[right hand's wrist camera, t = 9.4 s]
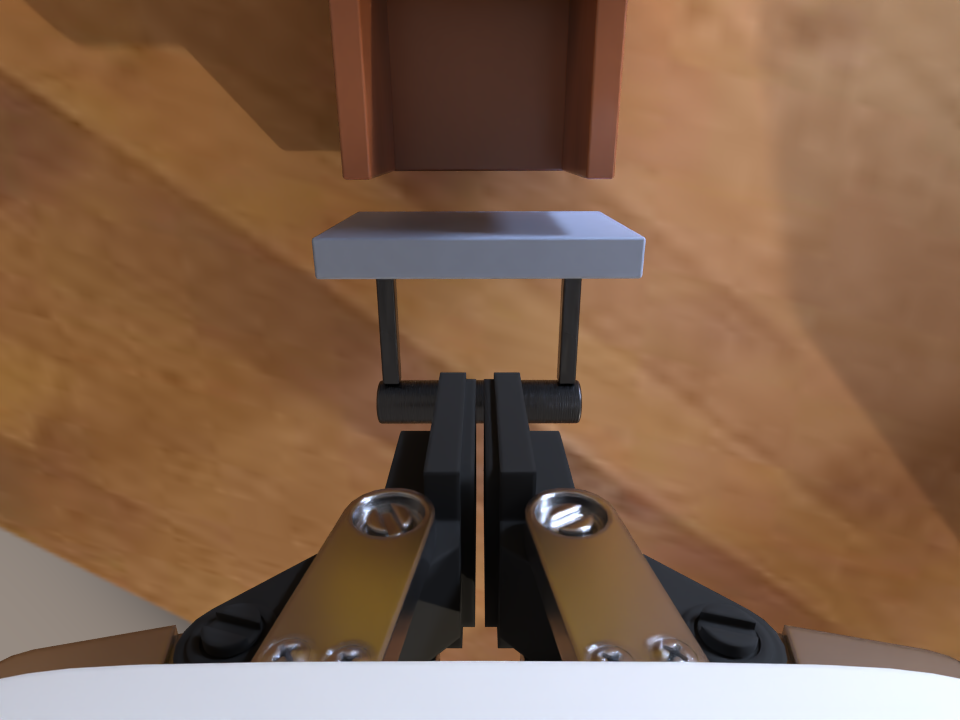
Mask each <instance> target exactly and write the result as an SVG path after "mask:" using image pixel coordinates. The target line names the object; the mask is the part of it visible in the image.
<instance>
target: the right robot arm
mask: <svg viewBox="0 0 960 720" xmlns="http://www.w3.org/2000/svg"><path fill="white" fill-rule="evenodd" d="M475 572H476V379H466V373H440V378H439V384H438V389H437V395H436V401H435V407H434V413H433V419H432V425H431V430H430V431H401V433H400V436H399V439H398V443H397V447H396V450H395V454H394V458H393V461H392V465H391V469H390V472H389V476H388V480H387V483H386V487H385V489H380V490H375V491H372V492H369V493H366V494H364V495H362V496H360V497H358V498H357V499H355V500H354V501H352V502H351V503H350V504H349V505H348V507H347V508H346V509H345V510H344V512H343V513H342V515H341V516H340V518H339V520H338V521H337V523H336V525H335V526H334V528H333V529H332V531H331V533H330V534H329V536H328V537H327V539H326V541H325V542H324V544H323V546H322V547H321V549H320V550H319V552H318V554H316V555H314V556H312V557H310V558H308V559H306V560H305V561H303V562H301V563H299V564H297V565H295V566H293V567H291V568H289V569H288V570H286V571H284V572H282V573H280V574H278V575H276V576H274V577H272V578H271V579H269V580H267V581H265V582H263V583H261V584H259V585H257V586H255V587H253V588H252V589H250V590H248V591H246V592H244V593H242V594H240V595H238V596H236V597H235V598H233V599H231V600H229V601H227V602H225V603H223V604H221V605H219V606H218V607H216V608H214V609H212V610H210V611H209V612H207V613H206V614H204V615H203V616H201V617H200V618H198V619H197V620H195V621H194V622H193V623H192V624H191V625H190V626H189V627H188V628H187V629H186V630H185V631H184V633H182V634H178V633H177V628H176V625H173V626H167V627H161V628H155V629H150V630H144V631H138V632H132V633H127V634H121V635H115V636H109V637H104V638H98V639H92V640H86V641H80V642H74V643H69V644H63V645H57V646H51V647H46V648H40V649H34V650H30V651H27V652H23V653H20V654H16V655H13V656H10V657H8V658H6V659H4V660H2V661H0V720H960V661H958V660H956V659H954V658H952V657H950V656H947V655H944V654H940V653H937V652H933V651H930V650H926V649H920V648H914V647H909V646H903V645H897V644H891V643H886V642H880V641H874V640H868V639H862V638H857V637H851V636H845V635H839V634H834V633H828V632H822V631H816V630H810V629H805V628H799V627H793V626H787V625H784V628H783V633H782V634H778V633H776V631H775V630H774V629H773V628H772V627H771V626H770V625H769V624H768V623H767V622H766V621H765V620H763V619H762V618H760V617H759V616H757V615H756V614H754V613H753V612H751V611H750V610H748V609H746V608H744V607H742V606H741V605H739V604H737V603H735V602H733V601H731V600H729V599H727V598H725V597H724V596H722V595H720V594H718V593H716V592H714V591H712V590H710V589H708V588H707V587H705V586H703V585H701V584H699V583H697V582H695V581H693V580H691V579H689V578H688V577H686V576H684V575H682V574H680V573H678V572H676V571H674V570H672V569H671V568H669V567H667V566H665V565H663V564H661V563H659V562H657V561H655V560H654V559H652V558H650V557H648V556H646V555H644V554H642V552H641V550H640V549H639V547H638V546H637V544H636V542H635V541H634V539H633V537H632V536H631V534H630V533H629V531H628V529H627V528H626V526H625V525H624V523H623V521H622V520H621V518H620V516H619V515H618V513H617V512H616V510H615V509H614V508H613V507H612V505H611V504H610V503H609V502H608V501H606V500H605V499H603V498H602V497H600V496H598V495H596V494H594V493H591V492H588V491H585V490H580V489H575V487H574V483H573V480H572V476H571V472H570V469H569V465H568V461H567V458H566V454H565V450H564V447H563V443H562V439H561V436H560V433H559V431H530V430H529V425H528V419H527V413H526V407H525V401H524V395H523V389H522V384H521V378H520V373H494V379H484V572H485V627H497V637H498V648H514V649H515V650H517V651H518V652H519V653H520V661H440V653H441V652H442V651H443V650H445V649H446V648H462V637H463V627H475Z"/></svg>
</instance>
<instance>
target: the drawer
mask: <svg viewBox="0 0 960 720" xmlns="http://www.w3.org/2000/svg"><path fill="white" fill-rule="evenodd" d="M627 3H628V0H329V12H330V24H331V37H332V49H333V61H334V73H335V86H336V98H337V110H338V123H339V135H340V147H341V160H342V172H343V178H344V179H346V180H351V179H372V178H375V177H377V176H380V175H383V174H386V173H389V172H392V171H566V172H569V173H572V174H575V175H578V176H581V177H584V178H587V179H612V178H614V173H615V160H616V147H617V134H618V121H619V108H620V95H621V81H622V68H623V55H624V42H625V29H626V16H627ZM645 241H646V240H645V238H644V237H643V236H641V235H639V234H637V233H636V232H634V231H632V230H630V229H629V228H627V227H625V226H624V225H622V224H620V223H618V222H617V221H615V220H613V219H611V218H610V217H608V216H606V215H605V214H603V213H601V212H599V211H527V212H357V213H356V214H354V215H352V216H350V217H349V218H347V219H345V220H344V221H342V222H340V223H338V224H337V225H335V226H333V227H331V228H330V229H328V230H326V231H325V232H323V233H321V234H319V235H318V236H316V237H314V238H313V239H312V247H313V256H314V266H315V276H316V278H317V279H376V284H377V300H378V315H379V330H380V345H381V360H382V375H383V380H382V381H380V383H379V385H378V390H377V416H378V420H379V422H380V423H382V424H408V423H432V419H433V413H434V407H435V401H436V395H437V389H438V384H439V380H401V363H400V345H399V326H398V307H397V289H396V279H562V285H561V306H560V326H559V347H558V367H557V379H558V380H521V384H522V389H523V395H524V401H525V407H526V413H527V419H528V423H578V422H579V421H580V418H581V411H582V395H581V387H580V384H579V382H578V381H577V380H575V379H576V363H577V346H578V330H579V314H580V297H581V281H582V279H602V278H641V277H642V271H643V261H644V251H645ZM476 423H484V380H476Z"/></svg>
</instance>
